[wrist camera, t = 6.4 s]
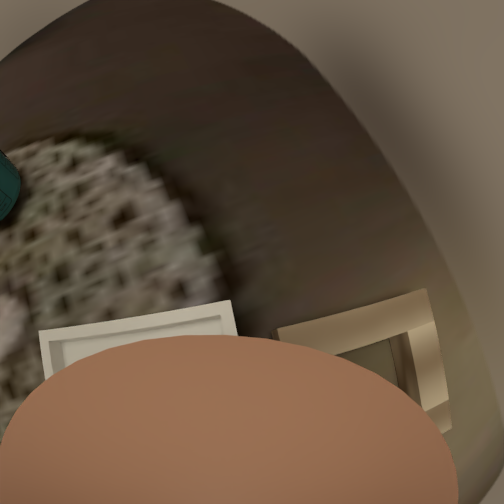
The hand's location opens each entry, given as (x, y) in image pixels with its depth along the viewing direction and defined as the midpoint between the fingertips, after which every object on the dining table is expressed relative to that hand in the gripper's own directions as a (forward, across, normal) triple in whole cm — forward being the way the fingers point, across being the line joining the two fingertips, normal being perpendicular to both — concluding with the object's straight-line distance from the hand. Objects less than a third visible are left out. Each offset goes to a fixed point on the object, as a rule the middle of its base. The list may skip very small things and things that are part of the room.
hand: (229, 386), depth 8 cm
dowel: (+4, 0, +6) cm, 7 cm away
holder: (+8, -10, +10) cm, 16 cm away
